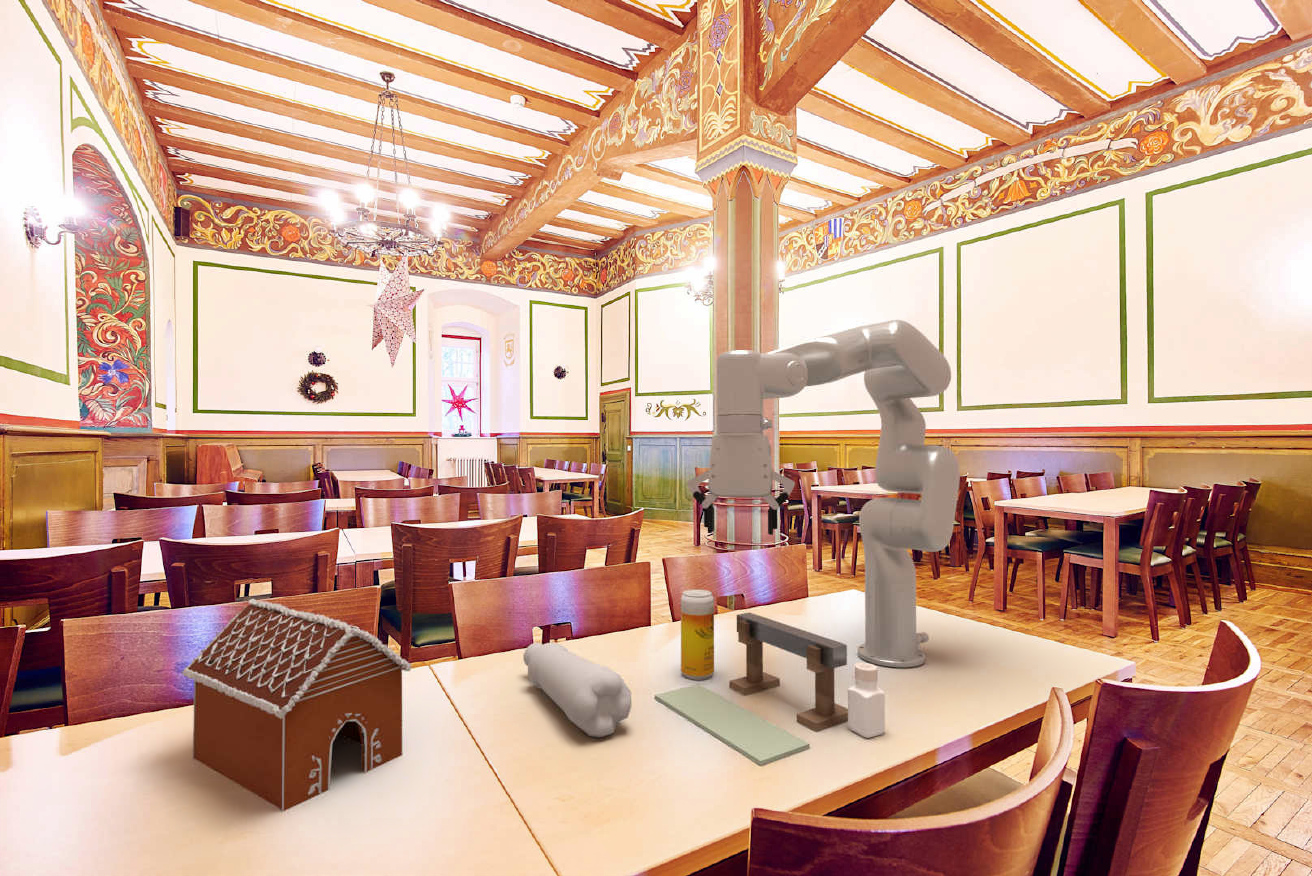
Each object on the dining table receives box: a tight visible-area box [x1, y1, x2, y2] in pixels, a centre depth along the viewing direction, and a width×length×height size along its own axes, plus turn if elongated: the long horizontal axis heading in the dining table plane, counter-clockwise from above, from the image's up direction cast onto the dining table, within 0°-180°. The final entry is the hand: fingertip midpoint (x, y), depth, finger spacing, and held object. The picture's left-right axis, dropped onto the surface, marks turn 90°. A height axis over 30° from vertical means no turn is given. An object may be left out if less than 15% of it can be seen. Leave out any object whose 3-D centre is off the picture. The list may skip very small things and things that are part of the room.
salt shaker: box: [847, 662, 886, 739], centre depth 91 cm, size 4×4×10 cm
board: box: [654, 683, 811, 766], centre depth 94 cm, size 9×26×1 cm, turn 32°
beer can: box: [680, 589, 715, 681], centre depth 114 cm, size 6×6×15 cm
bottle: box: [523, 641, 632, 739], centre depth 101 cm, size 9×9×30 cm
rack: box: [728, 621, 848, 732], centre depth 101 cm, size 8×20×12 cm, turn 32°
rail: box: [736, 612, 848, 670], centre depth 101 cm, size 22×3×3 cm, turn 32°
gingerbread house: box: [181, 598, 412, 812], centre depth 84 cm, size 18×26×20 cm
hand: (740, 532), depth 100 cm, fingers open, 9 cm apart
